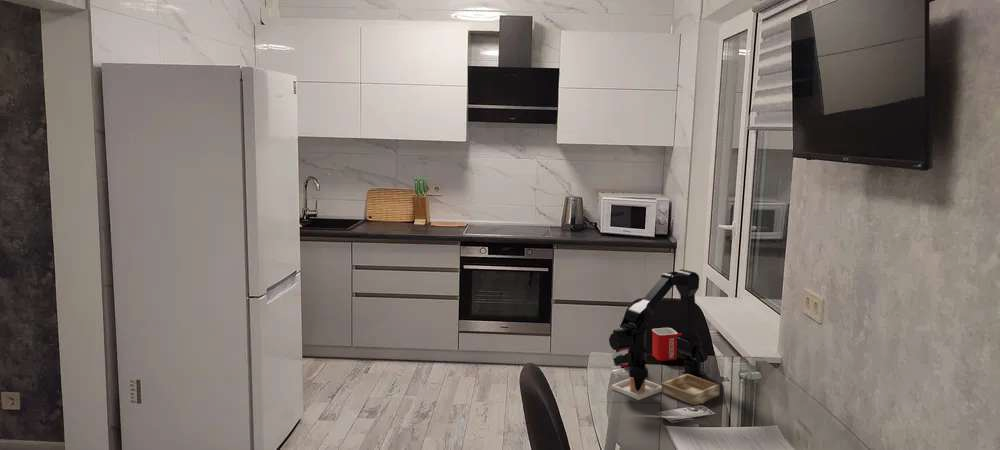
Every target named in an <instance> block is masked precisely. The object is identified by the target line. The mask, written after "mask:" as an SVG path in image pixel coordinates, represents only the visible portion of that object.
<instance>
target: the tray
mask: <svg viewBox="0 0 1000 450" xmlns="http://www.w3.org/2000/svg"><path fill="white" fill-rule="evenodd" d="M610 389H611V390H613V391H615V392H617V393H620V394H622V395H625V396H627V397H630V398H632V399H635V400H637V401H640V400H643V399H645V398H647V397H651V396H653V395H655V394H658V393H661V385H660V384H658V383H655V382H653V381H649V380H647V379H645V392H644V393H639V392H630V377H629V378H627V379H624V380H620V381H618V382H616V383H614V384H611V387H610Z"/></svg>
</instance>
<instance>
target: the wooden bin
mask: <svg viewBox="0 0 1000 450" xmlns="http://www.w3.org/2000/svg"><path fill="white" fill-rule="evenodd" d="M720 386H721V385H720V383H719V384H718V383H716V382H712V381H709V380H707V379H704V378H701V377H695V376H693V375H690V374H682V375H680V376H676V377H674V378H672V379H669V380H666V381H663V382H662V383H661V392H660V393H661V394H664V395H666V396H669V397H671V398H674V399H676V400H679V401H681V402H684V403H686V404H690V405H692V406H696V405H698V404H701V405H703V404H704V403H707V402H709V401H711V400H713V399H712V398H714V397H716V398H718V397H720V388H721V387H720ZM717 396H718V397H717ZM710 399H711V400H710ZM714 399H715V398H714ZM708 400H709V401H708ZM706 401H707V402H706Z"/></svg>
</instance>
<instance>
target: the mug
mask: <svg viewBox="0 0 1000 450" xmlns="http://www.w3.org/2000/svg"><path fill="white" fill-rule="evenodd" d="M651 331H652V355H651V356H652V357H654V359H656V360H657V361H659V362H667V361H676V360H677V357H678V353H677V352H678V351H677V350H678V348H676V347H677V340H676V339H677V337H679V336H680V335H681V334H682V332H681V333H680V332H679V333H678V332H677V331H676V330H675V329H673V328H672V327H660V328H659V327H658V328H651Z"/></svg>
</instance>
